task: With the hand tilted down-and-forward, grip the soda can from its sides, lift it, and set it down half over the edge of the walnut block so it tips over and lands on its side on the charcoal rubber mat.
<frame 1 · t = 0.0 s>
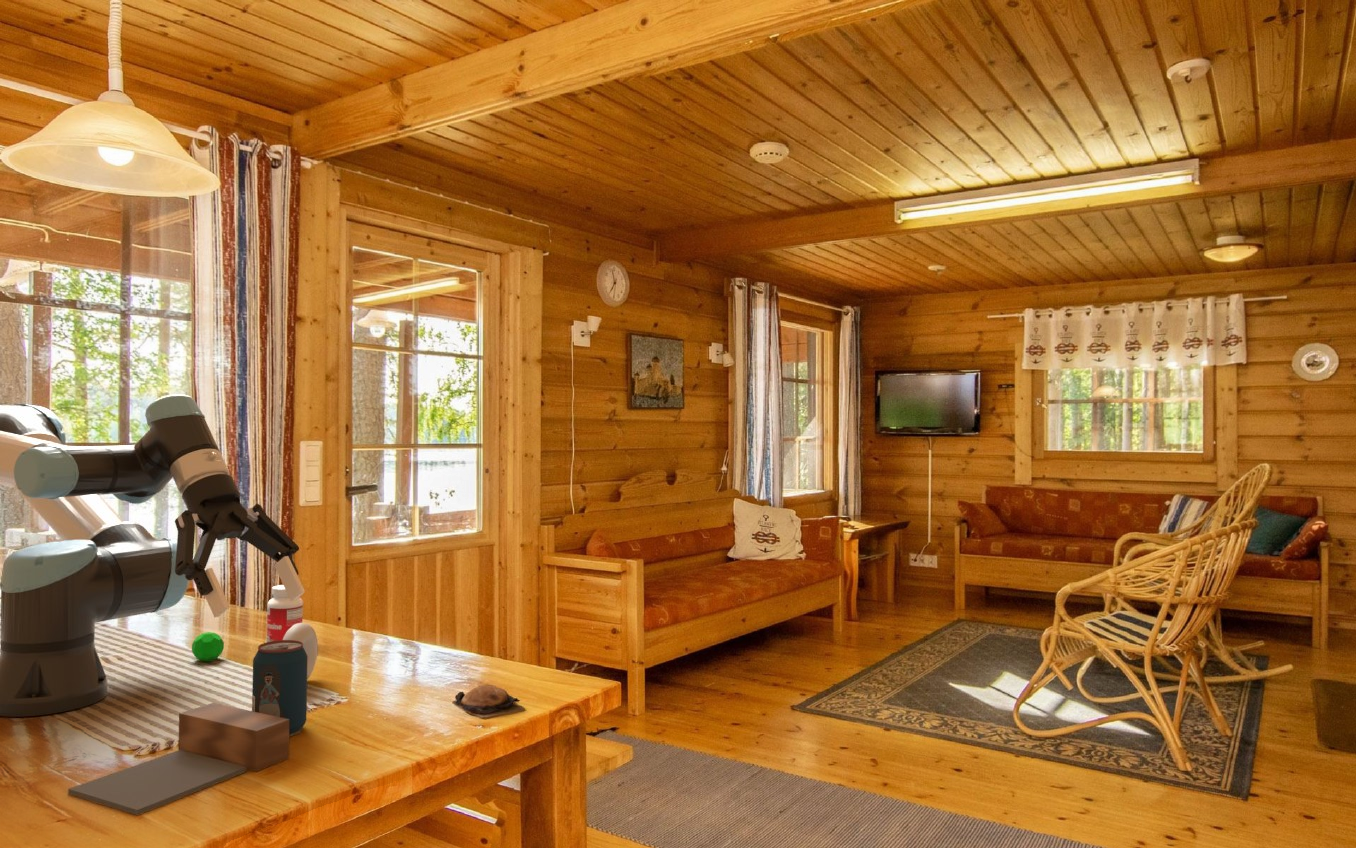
hand: (262, 604, 137), 15 cm above the table, tool tilted 35°, fingers open, 13 cm apart
walnut block: (233, 755, 118), on the table
polyhedron: (207, 661, 162), on the table
brown domed piece: (487, 710, 140), on the table
pill bottle: (284, 646, 174), on the table
soda can: (279, 733, 127), on the table
donut: (297, 686, 149), on the table
charcoal mat: (160, 782, 109), on the table
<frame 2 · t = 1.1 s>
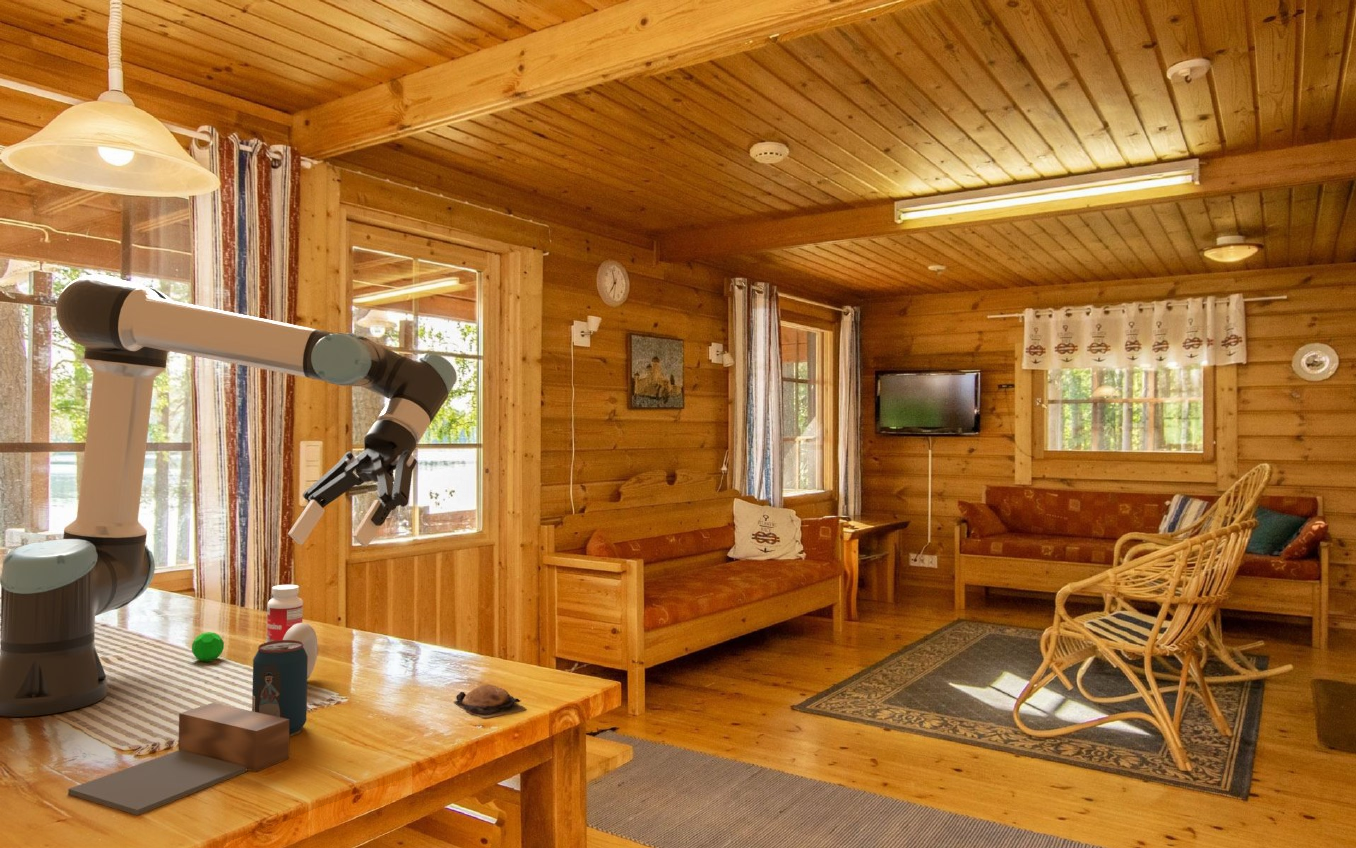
hand: (326, 540, 135), 25 cm above the table, tool tilted 40°, fingers open, 13 cm apart
nothing on the table moved.
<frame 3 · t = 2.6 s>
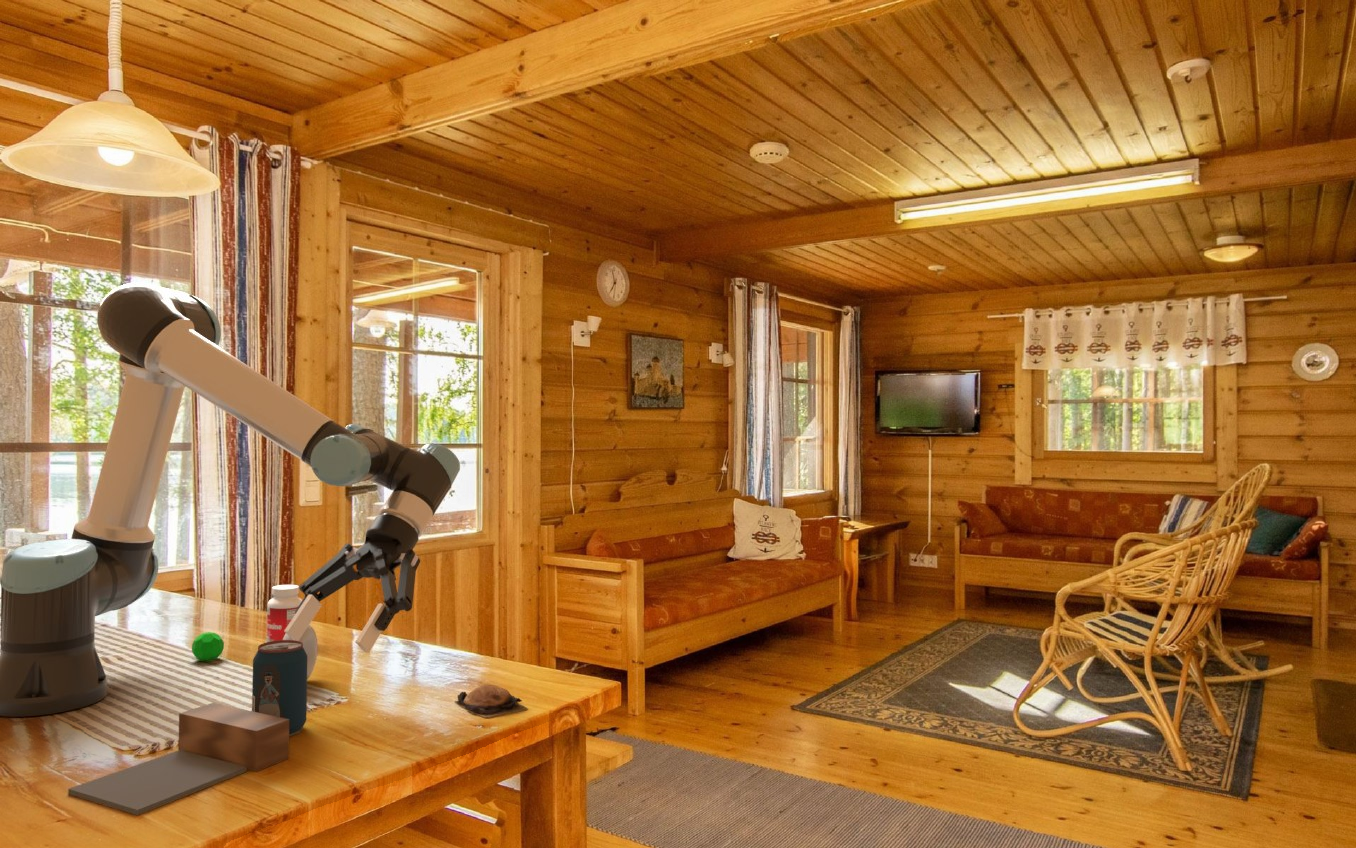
hand: (325, 642, 133), 11 cm above the table, tool tilted 45°, fingers open, 13 cm apart
nothing on the table moved.
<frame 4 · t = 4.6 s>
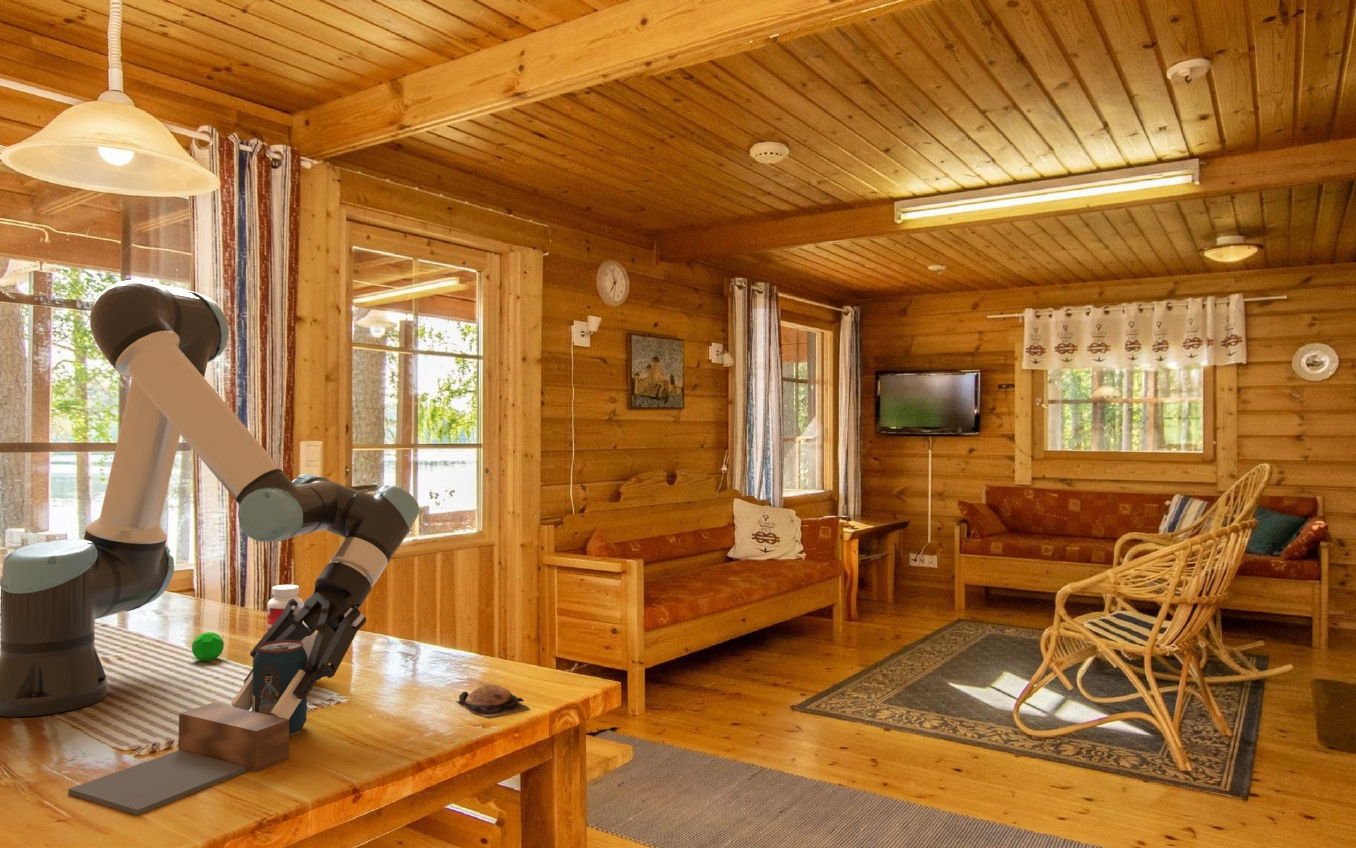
hand: (258, 713, 124), 4 cm above the table, tool tilted 45°, fingers closed on soda can, 7 cm apart
soda can: (279, 733, 127), on the table, touching gripper
everything else where it was.
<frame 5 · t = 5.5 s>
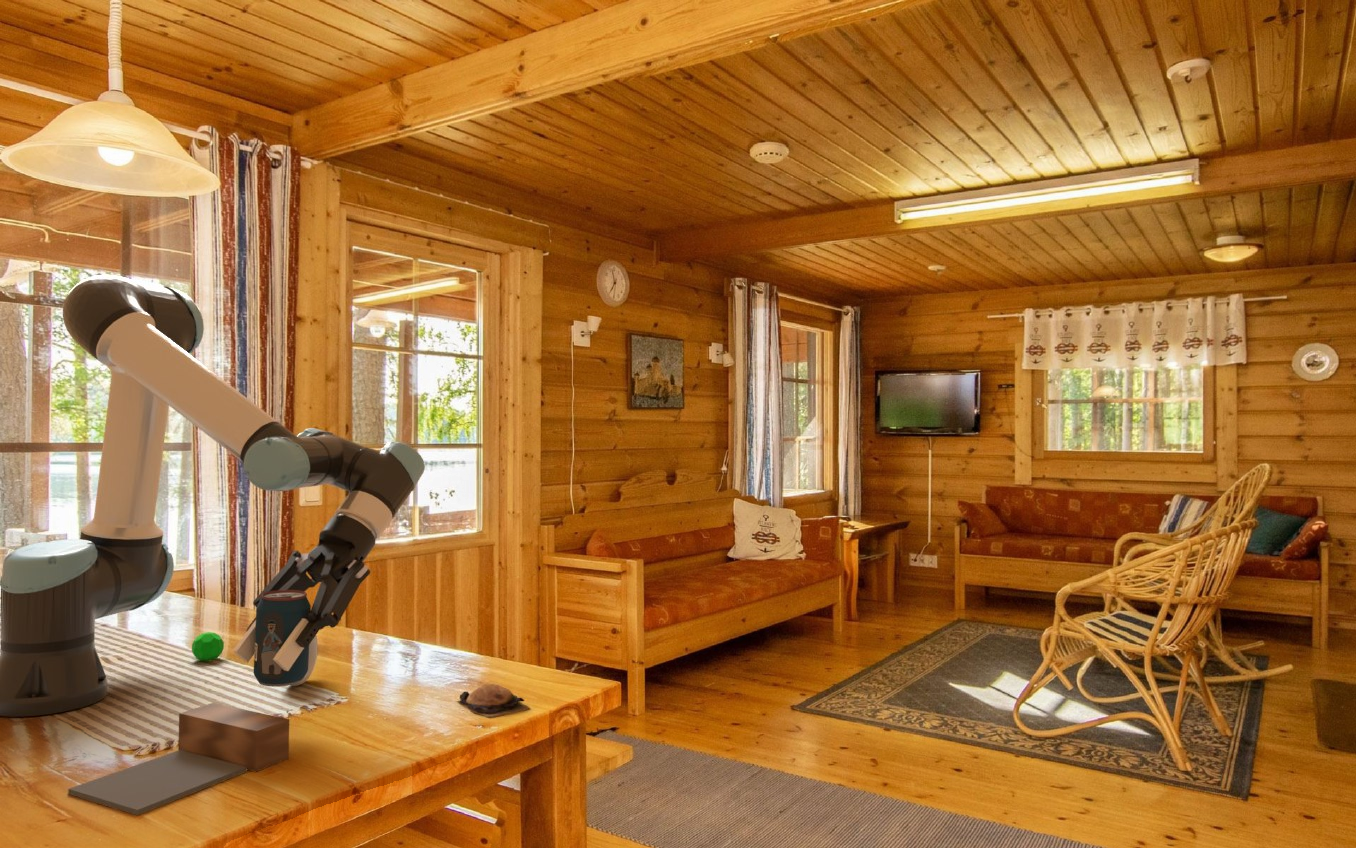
hand: (260, 660, 124), 11 cm above the table, tool tilted 45°, fingers closed on soda can, 7 cm apart
soda can: (280, 682, 127), point 7 cm above the table, touching gripper
everything else where it was.
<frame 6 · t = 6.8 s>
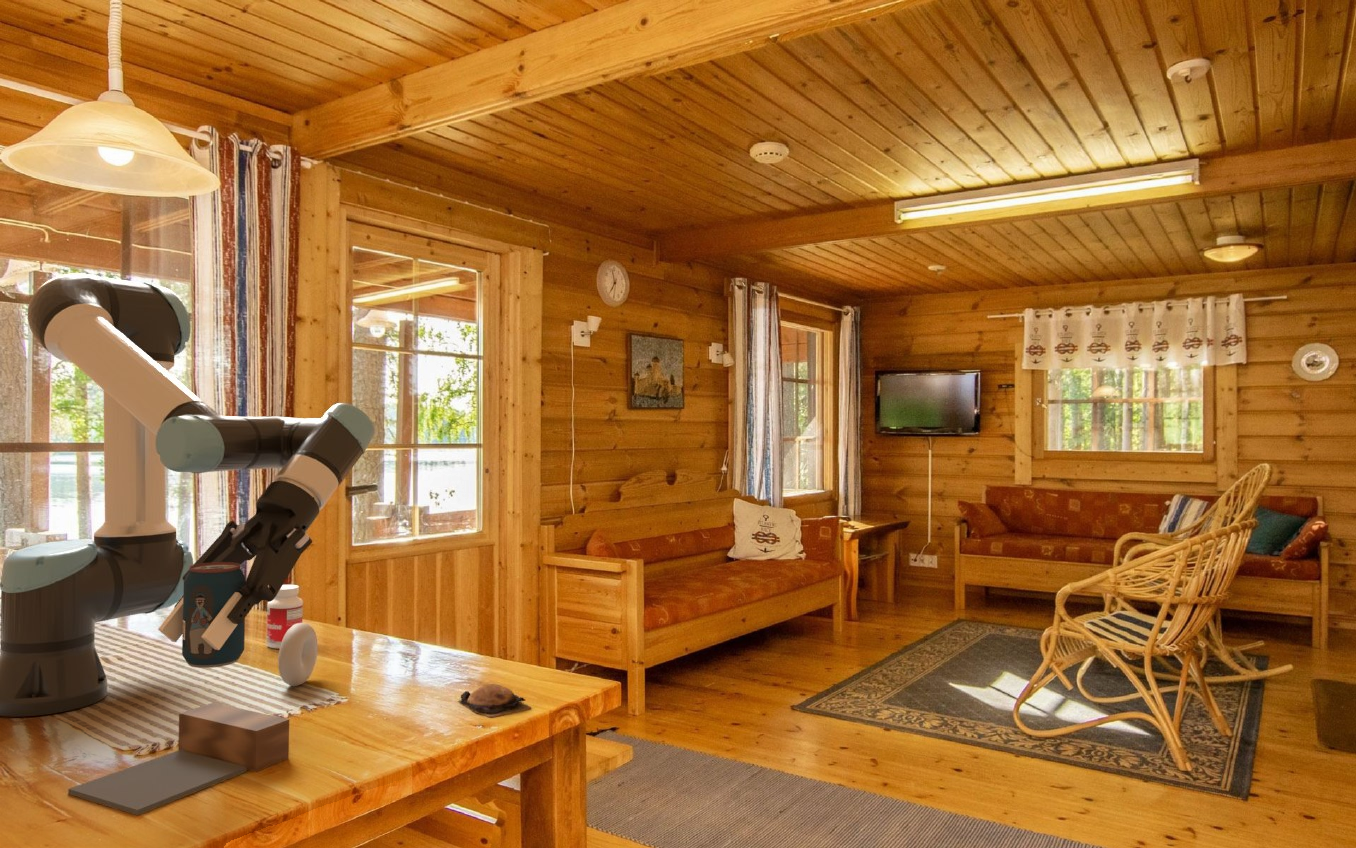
hand: (188, 639, 112), 16 cm above the table, tool tilted 45°, fingers closed on soda can, 7 cm apart
soda can: (213, 663, 115), point 13 cm above the table, touching gripper
everything else where it was.
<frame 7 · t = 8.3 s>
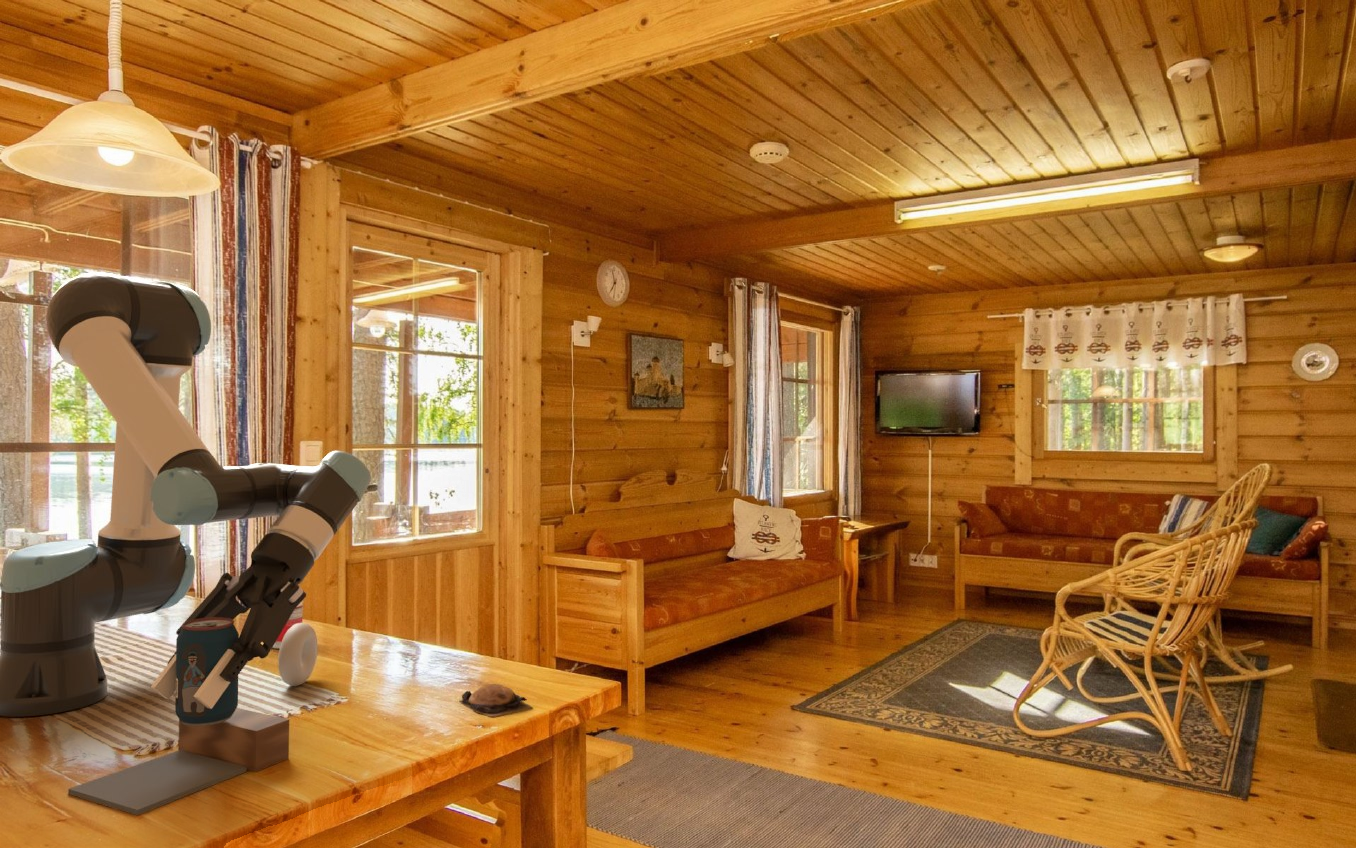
hand: (181, 697, 111), 9 cm above the table, tool tilted 45°, fingers closed on soda can, 7 cm apart
soda can: (206, 720, 114), point 6 cm above the table, touching gripper
when the fingers open (9 cm above the table, at t = 8.3 s): soda can drops 2 cm, resting on charcoal mat.
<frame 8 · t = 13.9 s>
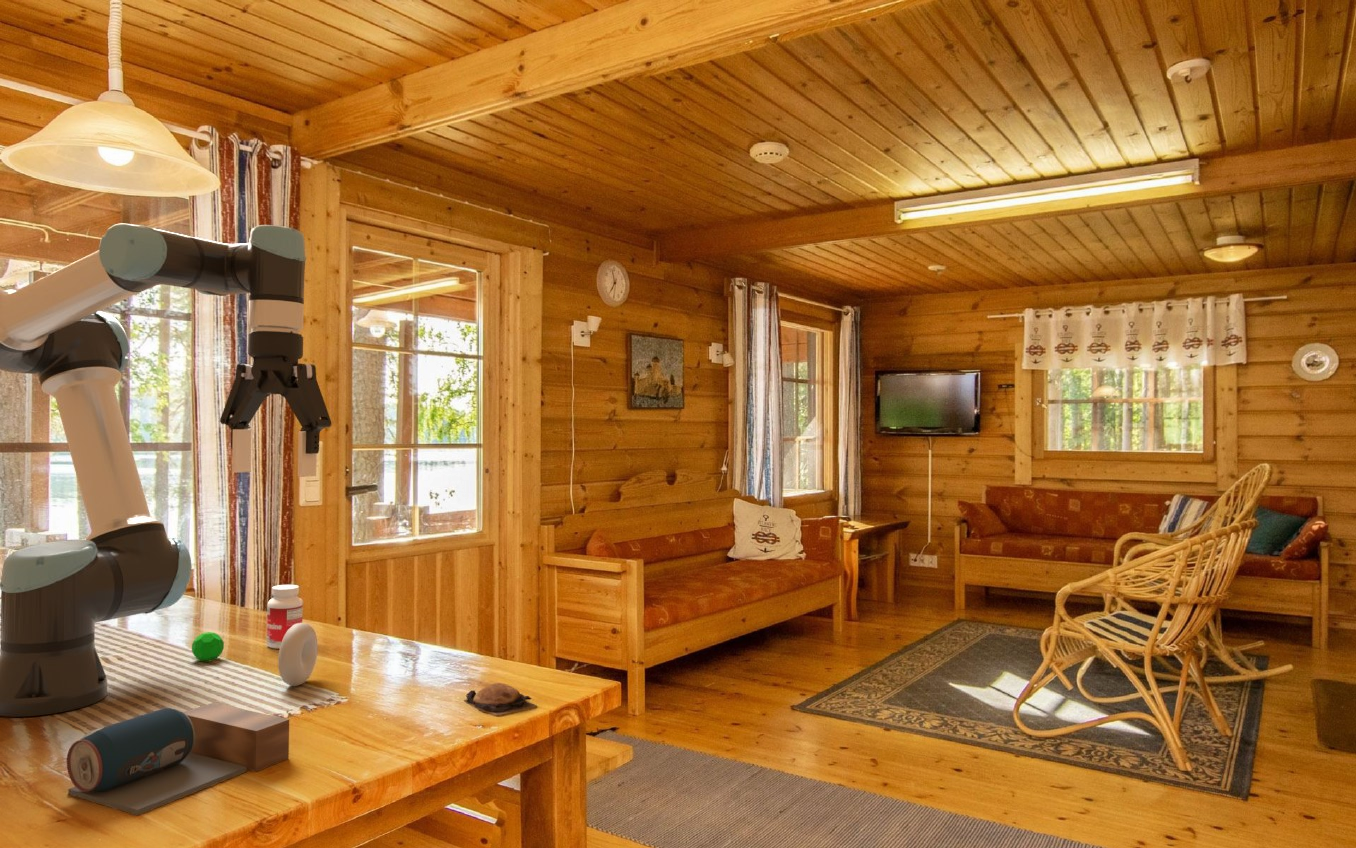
hand: (273, 474, 137), 35 cm above the table, tool pointing down, fingers open, 13 cm apart
soda can: (180, 732, 114), point 4 cm above the table, touching charcoal mat
at the end: soda can tilted 90°; soda can inside the target area (7.6 cm from its centre), point 4.1 cm above the table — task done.
